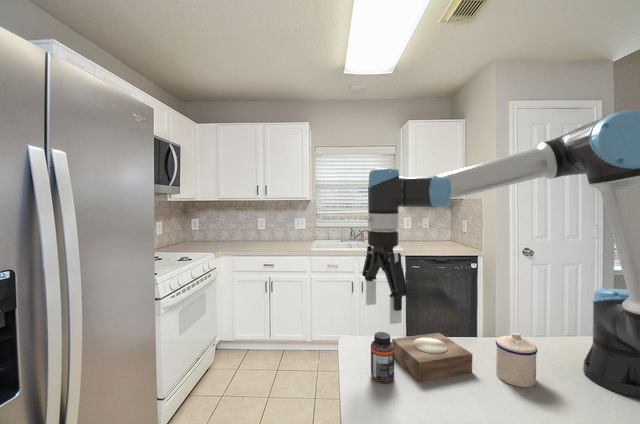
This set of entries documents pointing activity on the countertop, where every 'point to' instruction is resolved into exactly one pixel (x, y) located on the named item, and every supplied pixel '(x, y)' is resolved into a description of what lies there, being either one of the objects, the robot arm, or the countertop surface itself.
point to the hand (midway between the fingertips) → (382, 313)
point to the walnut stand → (432, 356)
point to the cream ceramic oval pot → (516, 360)
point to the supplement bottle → (382, 358)
